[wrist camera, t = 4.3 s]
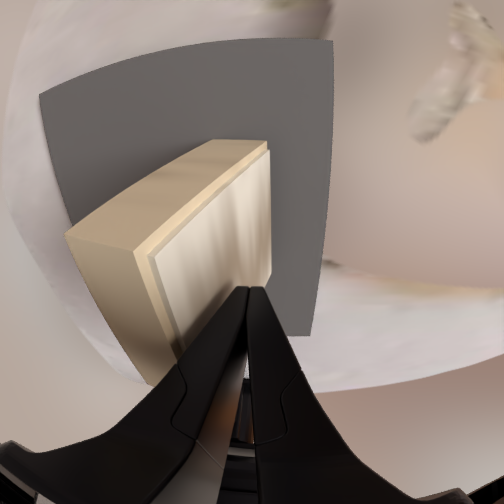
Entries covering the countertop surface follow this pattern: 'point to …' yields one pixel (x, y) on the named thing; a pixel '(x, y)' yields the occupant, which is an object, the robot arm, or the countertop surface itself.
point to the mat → (209, 138)
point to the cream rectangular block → (177, 248)
